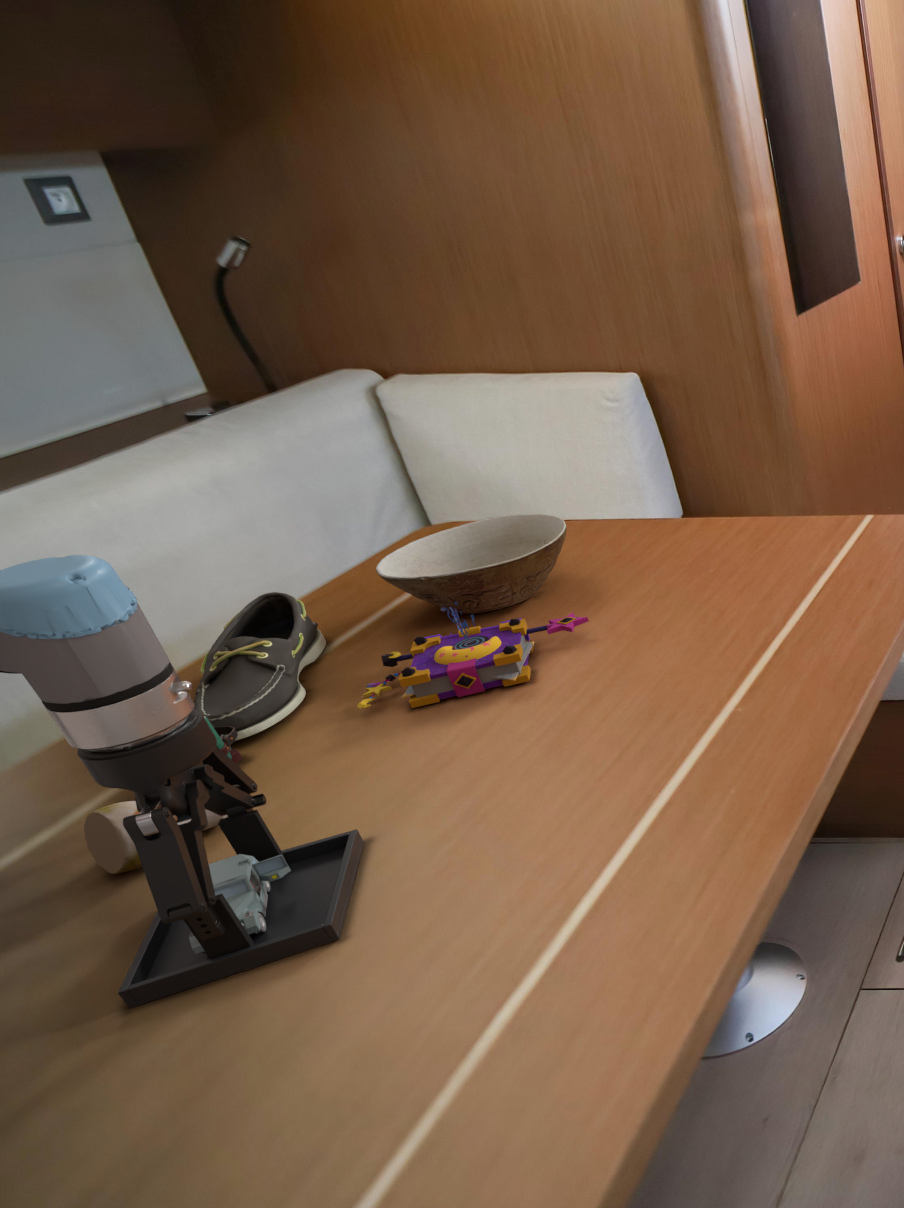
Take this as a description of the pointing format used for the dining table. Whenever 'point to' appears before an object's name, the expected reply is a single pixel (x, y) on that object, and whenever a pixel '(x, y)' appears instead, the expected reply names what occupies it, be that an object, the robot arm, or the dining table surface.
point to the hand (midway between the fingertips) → (251, 907)
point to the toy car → (245, 889)
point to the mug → (120, 836)
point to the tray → (293, 919)
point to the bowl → (478, 562)
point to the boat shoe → (258, 665)
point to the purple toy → (466, 660)
